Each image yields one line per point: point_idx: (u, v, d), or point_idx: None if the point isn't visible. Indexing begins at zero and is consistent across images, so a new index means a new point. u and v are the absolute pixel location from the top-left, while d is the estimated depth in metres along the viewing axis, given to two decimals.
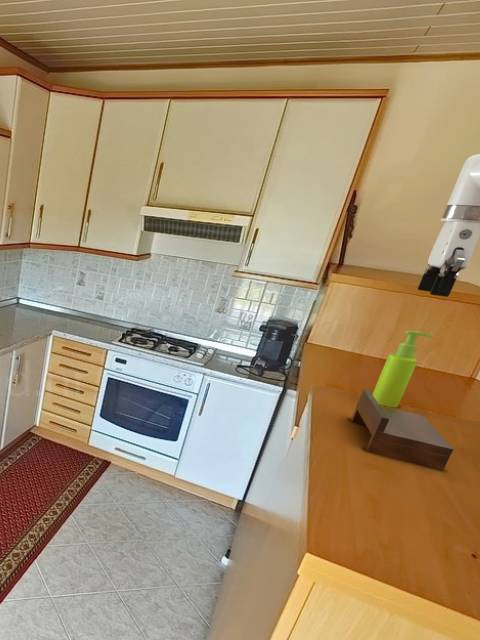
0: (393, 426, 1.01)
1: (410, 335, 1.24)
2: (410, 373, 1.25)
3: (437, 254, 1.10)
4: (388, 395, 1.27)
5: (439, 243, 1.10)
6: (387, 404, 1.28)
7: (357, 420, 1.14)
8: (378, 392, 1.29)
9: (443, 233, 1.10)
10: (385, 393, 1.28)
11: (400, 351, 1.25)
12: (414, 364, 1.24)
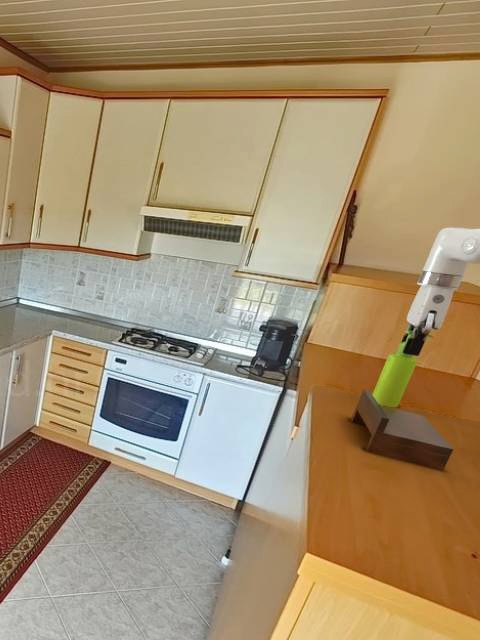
0: (393, 426, 1.01)
1: (410, 335, 1.24)
2: (410, 373, 1.25)
3: (414, 314, 1.21)
4: (388, 395, 1.27)
5: (416, 304, 1.22)
6: (387, 404, 1.28)
7: (357, 420, 1.14)
8: (378, 392, 1.29)
9: (419, 295, 1.21)
10: (385, 393, 1.28)
11: (400, 351, 1.25)
12: (414, 364, 1.24)
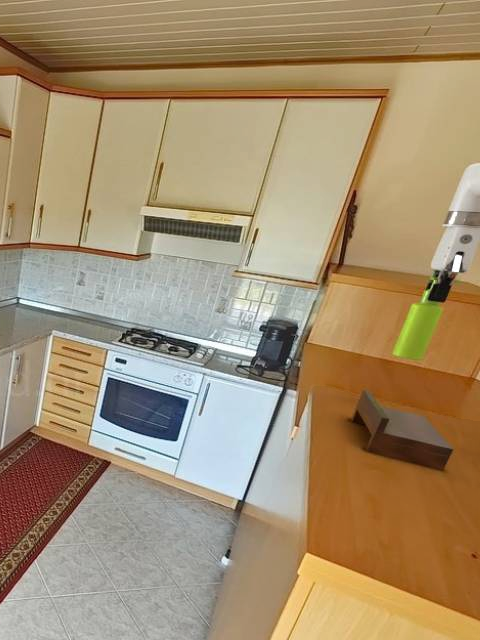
0: (393, 426, 1.01)
1: (435, 281, 1.17)
2: (435, 322, 1.18)
3: (439, 258, 1.15)
4: (412, 346, 1.21)
5: (441, 248, 1.15)
6: (411, 356, 1.21)
7: (357, 420, 1.14)
8: (400, 344, 1.23)
9: (445, 238, 1.15)
10: (408, 344, 1.21)
11: (424, 299, 1.19)
12: (440, 312, 1.17)
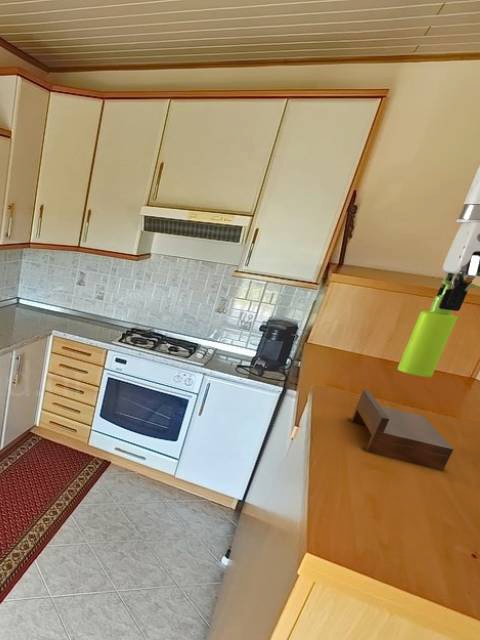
0: (393, 426, 1.01)
1: (448, 286, 1.01)
2: (448, 333, 1.01)
3: (453, 259, 0.99)
4: (421, 361, 1.04)
5: (455, 247, 0.99)
6: (419, 372, 1.05)
7: (357, 420, 1.14)
8: (407, 358, 1.06)
9: (459, 236, 0.98)
10: (416, 358, 1.04)
11: (435, 306, 1.02)
12: (453, 321, 1.01)
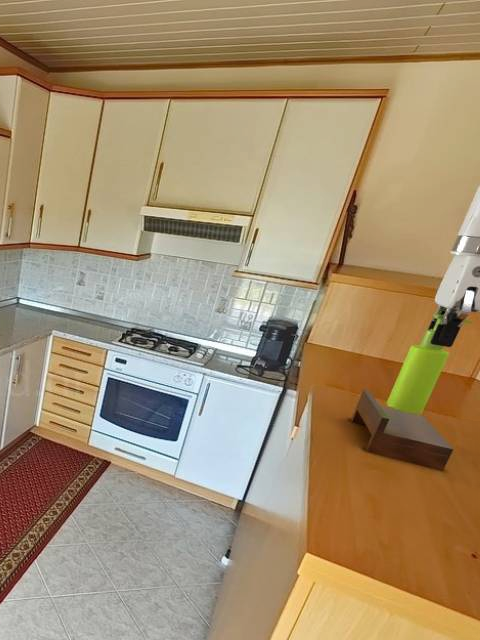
0: (393, 426, 1.01)
1: (440, 320, 0.96)
2: (439, 369, 0.96)
3: (446, 293, 0.93)
4: (411, 397, 0.99)
5: (448, 280, 0.94)
6: (409, 409, 1.00)
7: (357, 420, 1.14)
8: (397, 393, 1.01)
9: (453, 268, 0.93)
10: (406, 394, 0.99)
11: (426, 341, 0.97)
12: (445, 358, 0.96)
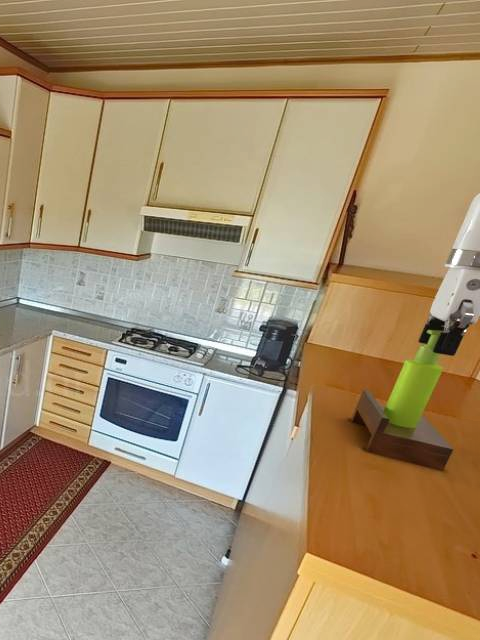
0: (393, 426, 1.01)
1: (433, 336, 0.97)
2: (433, 384, 0.97)
3: (441, 305, 0.94)
4: (405, 412, 1.00)
5: (443, 292, 0.94)
6: (403, 423, 1.01)
7: (357, 420, 1.14)
8: (391, 408, 1.02)
9: (448, 281, 0.94)
10: (401, 409, 1.00)
11: (420, 356, 0.98)
12: (438, 373, 0.97)
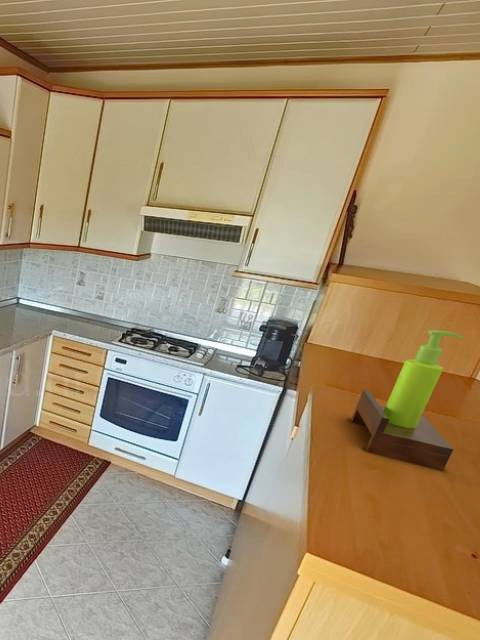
0: (393, 426, 1.01)
1: (433, 336, 0.97)
2: (433, 384, 0.97)
3: None
4: (405, 412, 1.00)
5: None
6: (403, 423, 1.01)
7: (357, 420, 1.14)
8: (391, 408, 1.02)
9: None
10: (401, 409, 1.00)
11: (420, 356, 0.98)
12: (438, 373, 0.97)
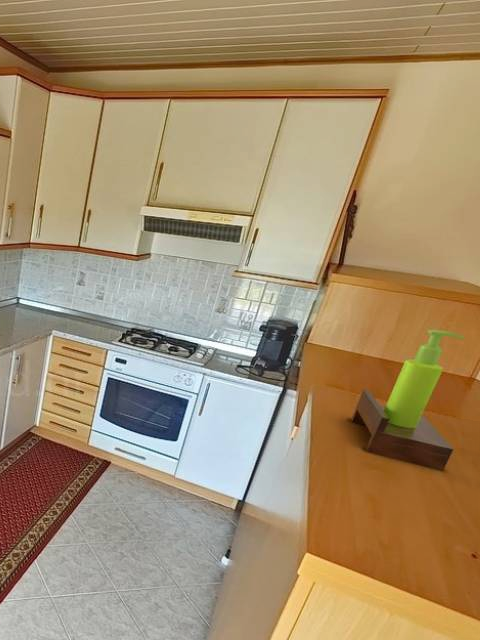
0: (393, 426, 1.01)
1: (433, 336, 0.97)
2: (433, 384, 0.97)
3: None
4: (405, 412, 1.00)
5: None
6: (403, 423, 1.01)
7: (357, 420, 1.14)
8: (391, 408, 1.02)
9: None
10: (401, 409, 1.00)
11: (420, 356, 0.98)
12: (438, 373, 0.97)
